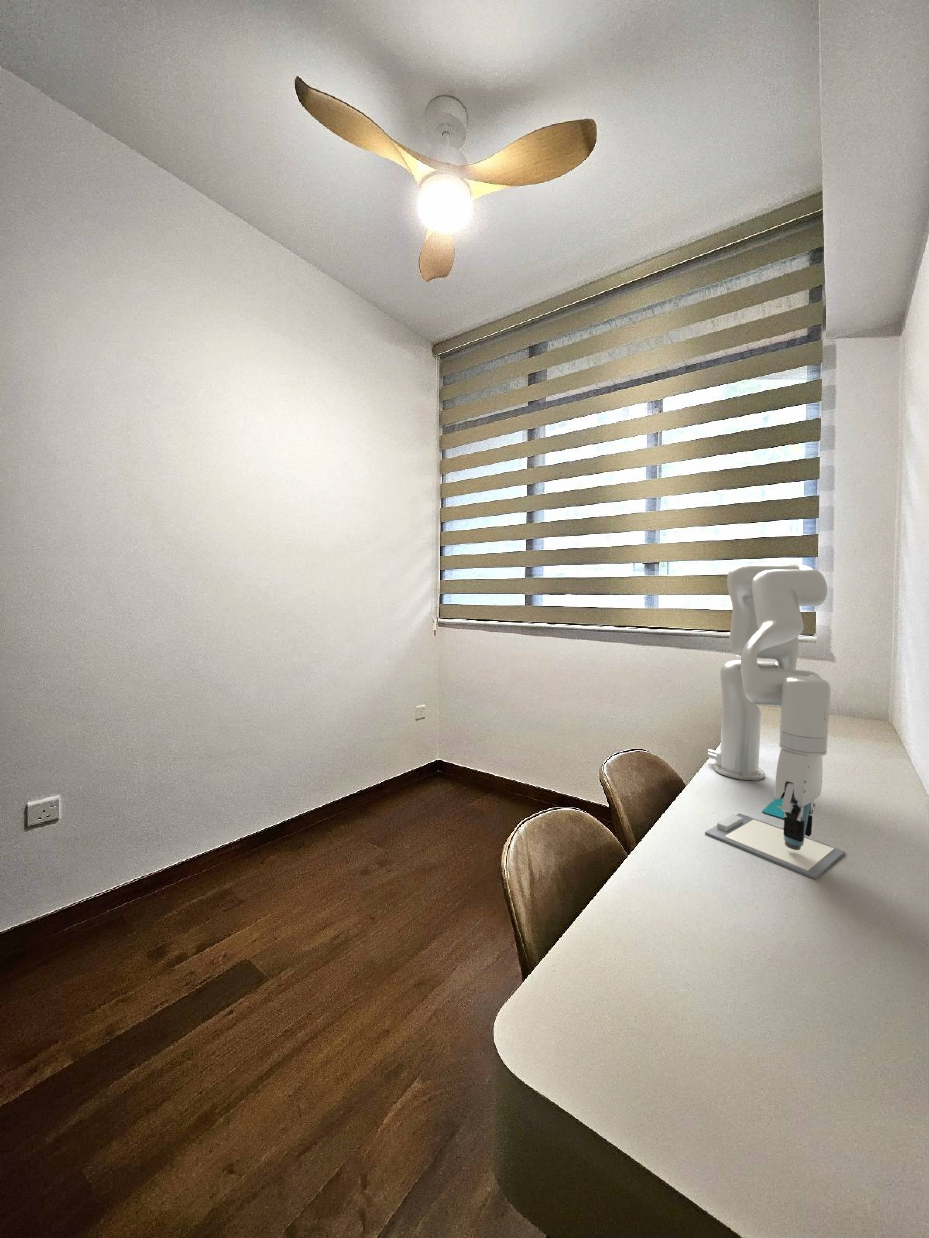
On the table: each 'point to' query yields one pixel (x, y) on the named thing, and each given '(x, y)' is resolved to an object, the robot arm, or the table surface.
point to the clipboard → (775, 845)
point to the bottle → (796, 844)
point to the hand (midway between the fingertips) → (797, 835)
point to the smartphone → (775, 809)
